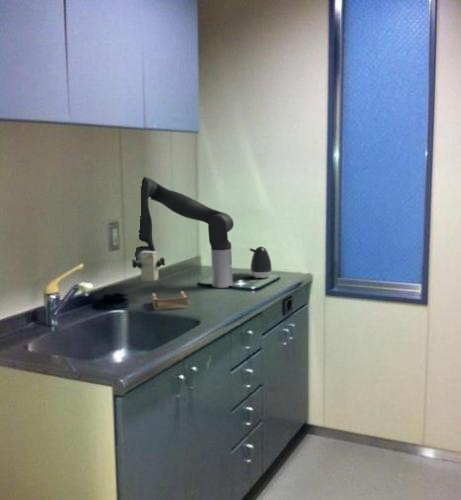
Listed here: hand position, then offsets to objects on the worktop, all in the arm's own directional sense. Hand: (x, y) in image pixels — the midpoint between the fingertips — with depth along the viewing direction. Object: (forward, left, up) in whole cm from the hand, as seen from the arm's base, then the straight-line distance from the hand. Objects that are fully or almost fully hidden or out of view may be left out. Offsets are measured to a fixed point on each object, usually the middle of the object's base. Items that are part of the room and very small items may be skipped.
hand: (149, 265), depth 266 cm
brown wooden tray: (-8, +10, -15) cm, 20 cm away
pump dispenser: (-49, -39, -15) cm, 65 cm away
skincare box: (0, -2, -7) cm, 7 cm away
